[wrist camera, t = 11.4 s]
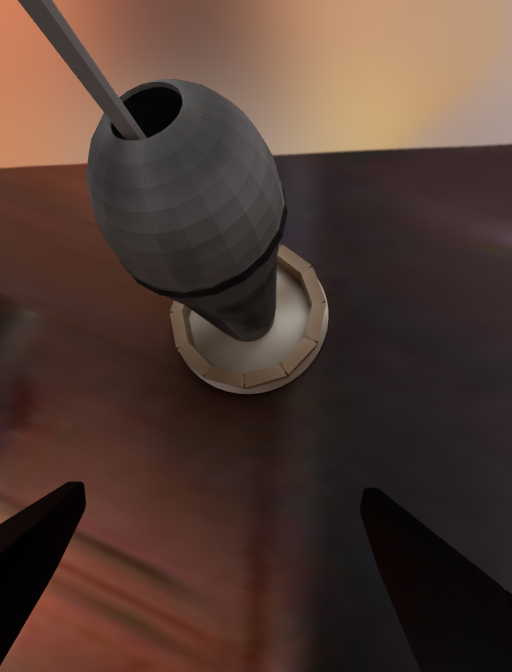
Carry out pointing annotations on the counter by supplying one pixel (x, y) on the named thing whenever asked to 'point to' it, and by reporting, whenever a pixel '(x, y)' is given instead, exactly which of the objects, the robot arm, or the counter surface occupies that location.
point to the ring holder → (267, 352)
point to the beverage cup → (181, 190)
